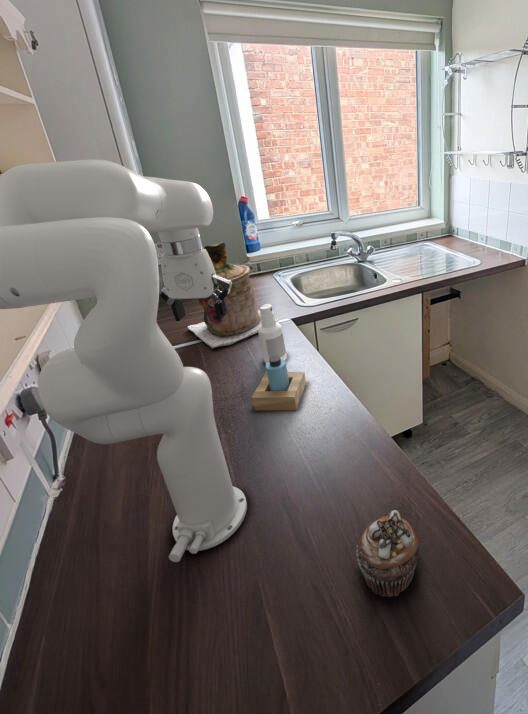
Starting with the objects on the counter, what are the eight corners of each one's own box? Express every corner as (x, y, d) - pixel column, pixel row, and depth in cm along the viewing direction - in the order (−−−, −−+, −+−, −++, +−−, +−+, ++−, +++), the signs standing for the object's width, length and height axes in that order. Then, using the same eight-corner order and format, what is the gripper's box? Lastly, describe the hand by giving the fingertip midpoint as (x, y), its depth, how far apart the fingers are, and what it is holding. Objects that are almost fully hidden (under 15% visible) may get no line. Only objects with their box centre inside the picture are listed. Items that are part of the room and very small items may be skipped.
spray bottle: (281, 366, 119) (271, 312, 112) (260, 365, 120) (248, 311, 114) (290, 354, 125) (281, 301, 118) (270, 352, 127) (260, 301, 120)
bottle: (288, 401, 104) (281, 364, 99) (269, 402, 104) (261, 364, 99) (293, 389, 108) (287, 353, 104) (275, 390, 108) (268, 353, 104)
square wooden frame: (296, 409, 100) (294, 396, 99) (254, 410, 101) (251, 397, 100) (306, 383, 110) (304, 371, 109) (267, 384, 111) (265, 372, 110)
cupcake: (394, 529, 70) (391, 487, 66) (432, 575, 62) (431, 530, 58) (347, 565, 64) (340, 521, 61) (382, 619, 57) (378, 573, 53)
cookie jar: (249, 306, 161) (232, 228, 148) (281, 324, 144) (266, 238, 132) (186, 329, 145) (161, 244, 133) (214, 353, 128) (189, 258, 116)
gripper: (132, 253, 82) (155, 326, 89) (214, 249, 81) (231, 324, 88) (153, 242, 89) (173, 311, 96) (229, 239, 88) (244, 309, 95)
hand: (201, 317), depth 92 cm, fingers open, 9 cm apart
